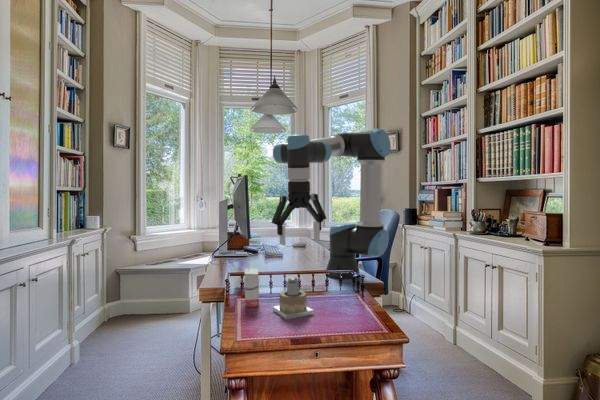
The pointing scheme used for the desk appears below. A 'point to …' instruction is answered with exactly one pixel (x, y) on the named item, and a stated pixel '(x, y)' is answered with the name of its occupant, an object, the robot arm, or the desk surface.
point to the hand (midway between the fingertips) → (300, 242)
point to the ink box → (251, 288)
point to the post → (293, 291)
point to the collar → (293, 302)
